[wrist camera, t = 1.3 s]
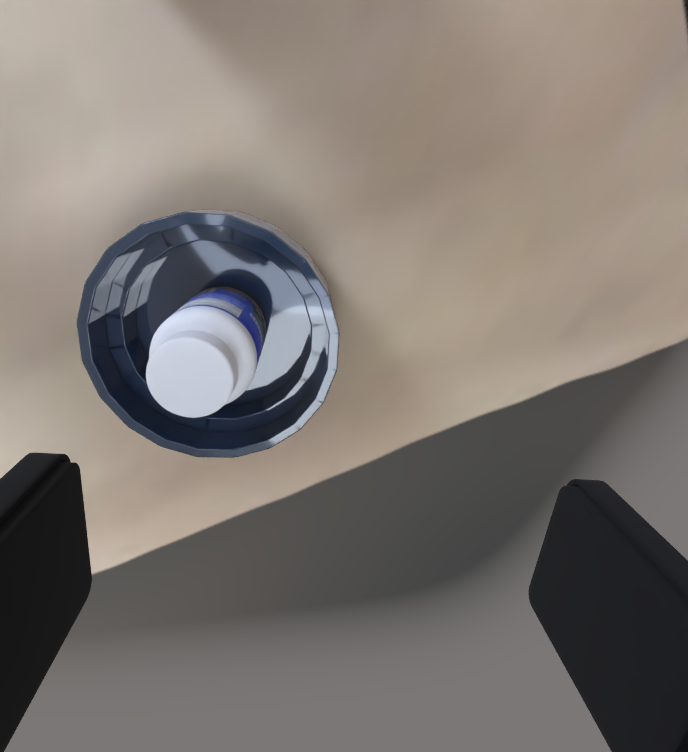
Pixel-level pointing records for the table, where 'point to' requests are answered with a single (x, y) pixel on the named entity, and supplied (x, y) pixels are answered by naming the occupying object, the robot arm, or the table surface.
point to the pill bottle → (206, 352)
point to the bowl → (174, 289)
